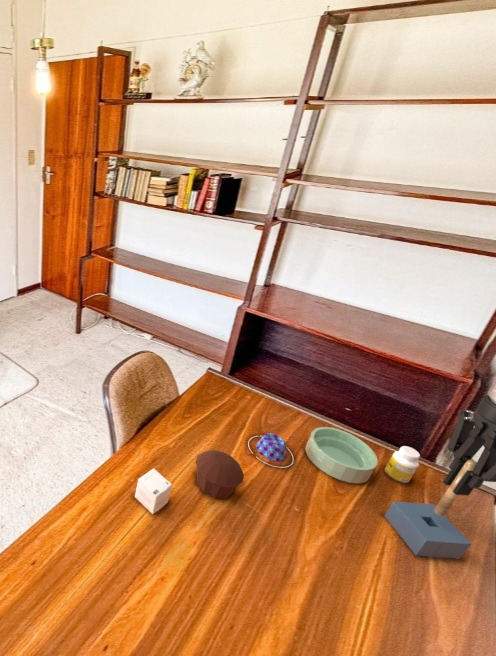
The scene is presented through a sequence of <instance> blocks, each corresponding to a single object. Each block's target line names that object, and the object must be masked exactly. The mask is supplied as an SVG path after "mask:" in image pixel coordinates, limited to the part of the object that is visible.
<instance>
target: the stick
mask: <svg viewBox="0 0 496 656" xmlns="http://www.w3.org/2000/svg"><path fill="white" fill-rule="evenodd" d="M477 462H478V461H476V460H475V459H471V460H467V461H466V463H465V464H464V466H463V467H462V469H461V470H460V472H459V473H458V475H457V476H456V477H455V479H454V480H453V482H452V483H451V485H448V488H447V489H446V491H445V492H444V494H443V495H442V497H441V498H440V499H439V501H438V503H437V504H436V505H435V506H436V507H435V508H434V512H435V513H436V514H437V515H438V516H444V515H445V516H446V514H447V512H448V511H449V510H450V508H451V507H452V505H453V503H454V502H455V501H456V499H457V498H458V497H459V495H456V494H455V493H453V490H454V489H455V487H456V486H457V484H458V483H459V482H460V480H461V479H462V477H463V476H464V474H465V473H466V471H467V470H469V471H473V469H474V467H475V465H476V463H477Z"/></svg>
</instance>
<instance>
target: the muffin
mask: <svg viewBox="0 0 496 656" xmlns="http://www.w3.org/2000/svg"><path fill="white" fill-rule="evenodd" d="M195 465H196V484H197V485H198V486H199V488H200V489H201V491H202V492H203V493H204V494H207V495H208V496H210V497H212V498H214V499H224V500H226V499H227V498H228V497H229V496H230V495H232V494H233V493H234V492H235V490H236V488H237V487H238V486H240V485H241V484H242V483H243V482H244V478H245V474H244V471H243V469H242V467H241V465H240V463H239V462H238V460H236V459H235V458H234V457H233V456H231V455H230V454H228V453H226V452H224V451H221V450H217V449H214V450H213V449H212V450H211V449H209V450H205V451H203V452H201V453H199V454H197V456H196V459H195Z"/></svg>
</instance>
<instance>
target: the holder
mask: <svg viewBox="0 0 496 656" xmlns="http://www.w3.org/2000/svg"><path fill="white" fill-rule="evenodd" d="M436 506H437V505H435V504H434V503H421V502H405V501H392V502H391V505H390V506H389V507H388V509H387V511H386V512H385V514H384V517H385V519H386V520H387V521H388V522H389V524H390V525H391V526H392V527H393V529H394V530H395V531H396V533H397V534H398V535H399V536H400V538H401V539H402V540H403V542H405V544H406V545H407V547H409V549H410V550H411V551H412V553H413V554H414V556H418V557H432V558H445V559H458V560H459V559H461V558H462V557H463V556H464V555H465V554H466V552H467V551H468V550H469V548H470V547H471V545H472V543H471V542H470V541H469V540H468V539H467V537H466V536H465V535H464V534H463V533H462V532H461V531H460V530H459V529H458V528H457V527H456V525H454V523H452V521H450V519H449V518H448V517H447V516H446V514H445V515H444V516H438V515H437V514H436V513H435V512H434V508H435V507H436Z"/></svg>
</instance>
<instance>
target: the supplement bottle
mask: <svg viewBox="0 0 496 656" xmlns="http://www.w3.org/2000/svg"><path fill="white" fill-rule="evenodd" d="M420 458H421V454H420V453H419V451H417V450H416V449H415V448H413V447H410V446H407V445H402V446H400V448H399V450H397V451H394V452H393V453H392V455H391V457H390V459H389V461H388V462H387V464H386V466H385V468H384V473H385V474H386V475H387V476H388V477H389V478H390V479H391V480H393V481H395V482H398V483H400V484H408V483H410V480H411V479H412V477H413V476H414V475H415V473H416V471H417V470H418V468H419V466H420V462H419V459H420Z"/></svg>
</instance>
